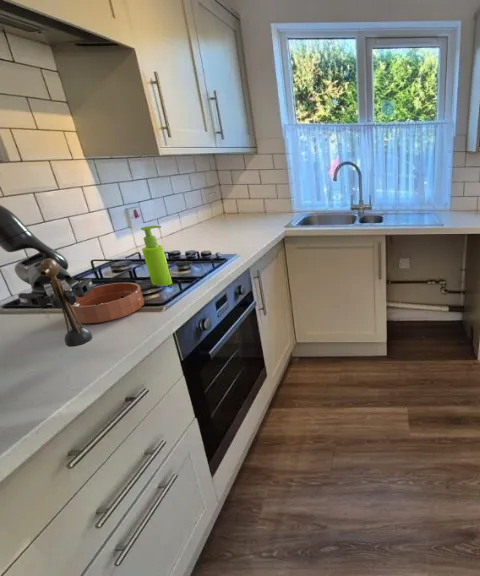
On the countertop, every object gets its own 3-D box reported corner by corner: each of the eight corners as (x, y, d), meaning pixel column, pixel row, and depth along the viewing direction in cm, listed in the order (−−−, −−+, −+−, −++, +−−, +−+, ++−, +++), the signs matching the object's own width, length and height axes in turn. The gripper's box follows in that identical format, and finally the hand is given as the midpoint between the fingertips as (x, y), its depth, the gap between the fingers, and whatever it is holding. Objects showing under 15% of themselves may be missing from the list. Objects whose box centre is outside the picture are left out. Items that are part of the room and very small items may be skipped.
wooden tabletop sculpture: (86, 346, 81) (52, 262, 73) (61, 351, 79) (23, 265, 71) (95, 334, 86) (64, 254, 78) (71, 338, 84) (37, 256, 76)
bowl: (79, 331, 94) (72, 312, 92) (67, 312, 105) (60, 295, 102) (153, 309, 105) (147, 292, 103) (135, 294, 116) (130, 278, 114)
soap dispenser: (178, 282, 125) (163, 225, 117) (156, 289, 120) (139, 229, 112) (171, 279, 128) (156, 223, 120) (150, 284, 123) (133, 227, 116)
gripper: (6, 275, 81) (14, 296, 70) (81, 260, 90) (98, 277, 80) (20, 305, 84) (29, 330, 73) (91, 287, 93) (109, 307, 83)
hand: (65, 302), depth 76 cm, fingers closed on wooden tabletop sculpture, 1 cm apart
